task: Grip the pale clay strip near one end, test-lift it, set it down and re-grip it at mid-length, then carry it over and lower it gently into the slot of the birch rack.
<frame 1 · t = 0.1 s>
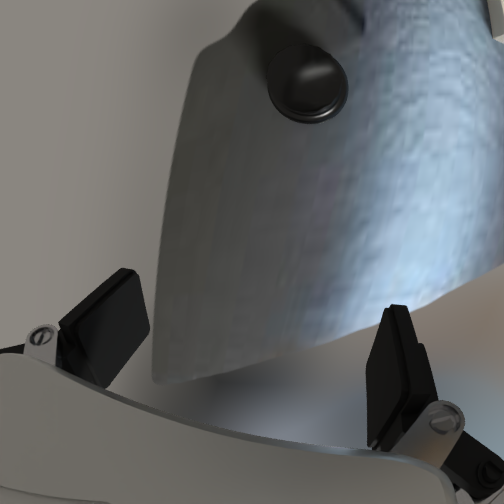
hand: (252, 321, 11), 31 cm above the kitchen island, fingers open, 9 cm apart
ink bottle: (310, 91, 34), on the kitchen island
strip: (496, 10, 19), on the kitchen island
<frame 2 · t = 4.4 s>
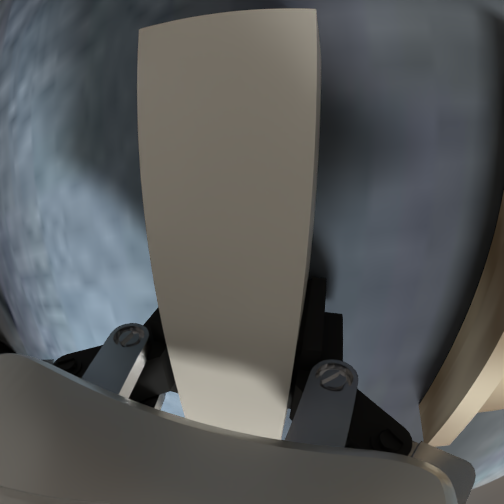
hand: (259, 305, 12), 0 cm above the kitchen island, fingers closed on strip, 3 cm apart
strip: (263, 229, 11), on the kitchen island, touching gripper
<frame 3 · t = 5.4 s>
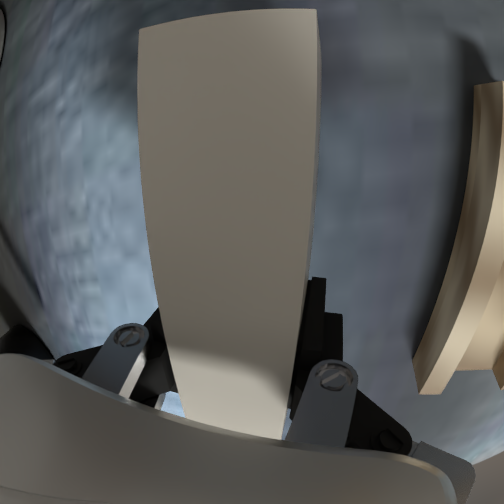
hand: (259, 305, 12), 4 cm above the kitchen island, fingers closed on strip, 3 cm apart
ink bottle: (38, 351, 29), on the kitchen island
strip: (263, 229, 11), point 4 cm above the kitchen island, touching gripper
when the fingers open (1 cm above the kitchen island, at t = 6.7 s): strip stays where it is, on the kitchen island.
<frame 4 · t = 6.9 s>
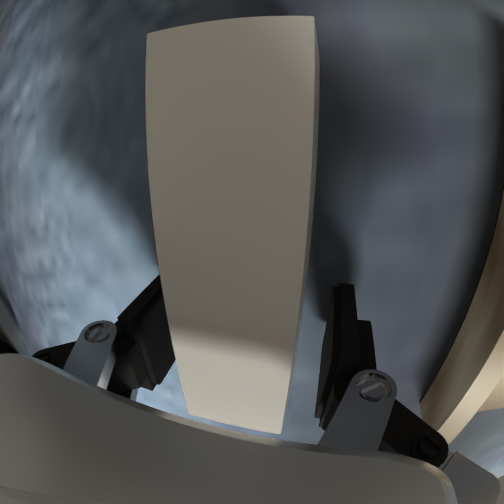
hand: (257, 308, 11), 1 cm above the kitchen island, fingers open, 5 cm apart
strip: (264, 225, 11), on the kitchen island
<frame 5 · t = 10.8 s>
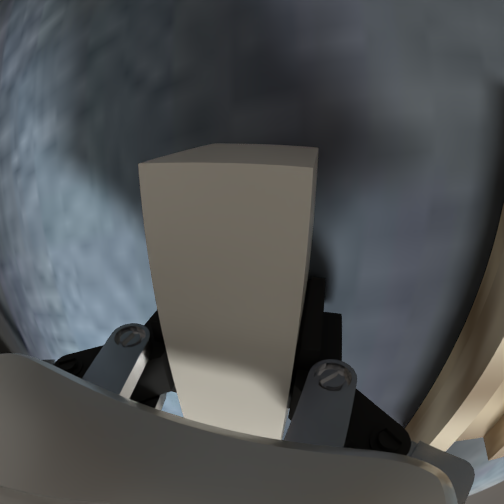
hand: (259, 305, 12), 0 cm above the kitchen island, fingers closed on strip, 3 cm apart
strip: (260, 301, 12), on the kitchen island, touching gripper
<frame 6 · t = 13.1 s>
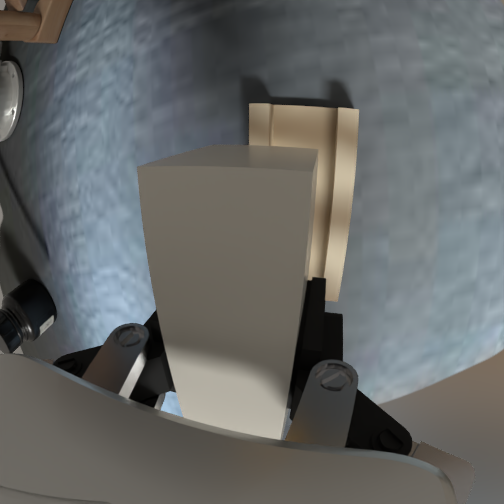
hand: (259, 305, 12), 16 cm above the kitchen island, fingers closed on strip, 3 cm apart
stepped wooden upright: (65, 5, 20), on the kitchen island
rack: (302, 199, 25), on the kitchen island
ink bottle: (42, 299, 42), on the kitchen island
strip: (260, 302, 12), point 15 cm above the kitchen island, touching gripper
when the fingers open (4 cm above the kitchen island, at t = 15.6 s): strip drops 3 cm, resting on rack.
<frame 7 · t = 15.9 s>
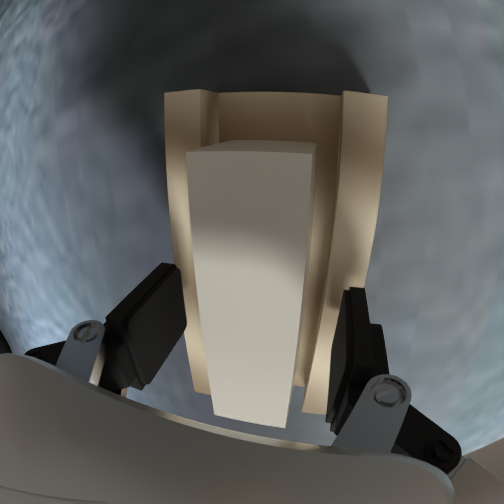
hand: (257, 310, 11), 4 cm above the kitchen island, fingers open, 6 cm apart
rack: (275, 262, 15), on the kitchen island
strip: (271, 271, 14), point 1 cm above the kitchen island, touching rack
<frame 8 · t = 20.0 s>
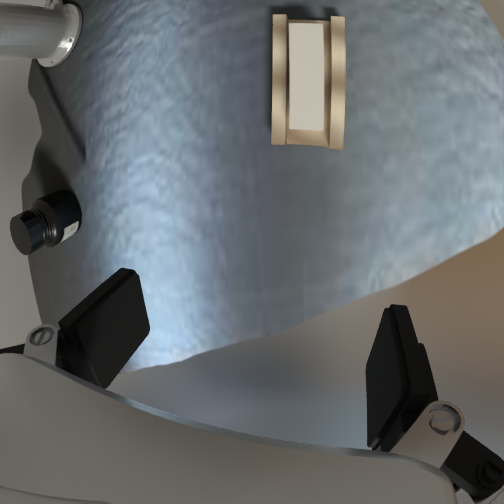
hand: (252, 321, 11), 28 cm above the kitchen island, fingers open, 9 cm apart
rack: (310, 80, 30), on the kitchen island
ink bottle: (67, 211, 47), on the kitchen island
strip: (309, 80, 30), point 1 cm above the kitchen island, touching rack
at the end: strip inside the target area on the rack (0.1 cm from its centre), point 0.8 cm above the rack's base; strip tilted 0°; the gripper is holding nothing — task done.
